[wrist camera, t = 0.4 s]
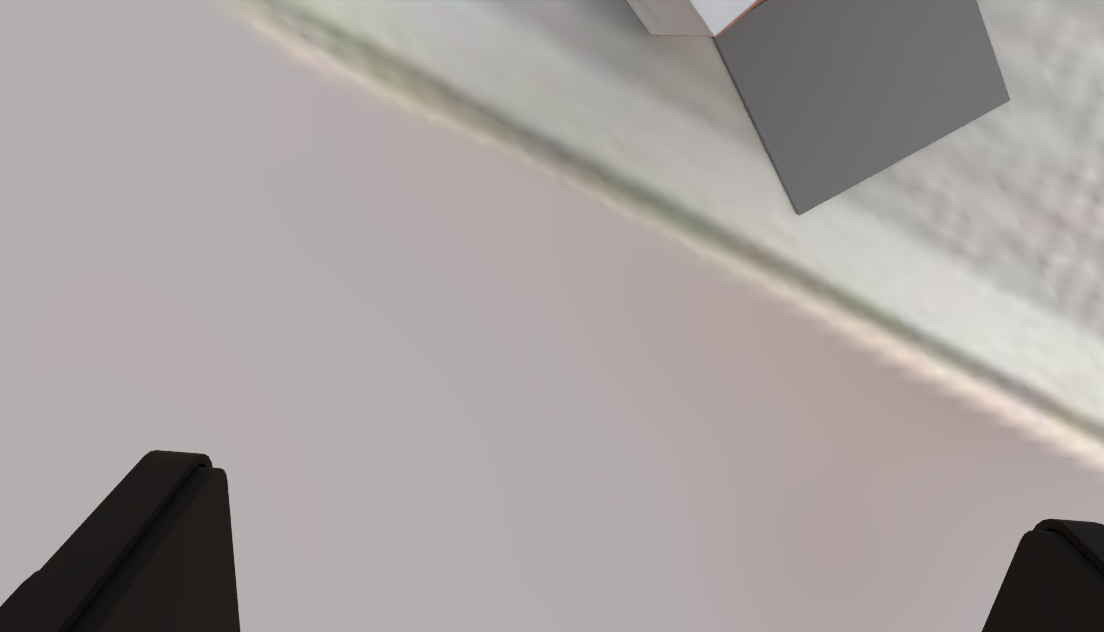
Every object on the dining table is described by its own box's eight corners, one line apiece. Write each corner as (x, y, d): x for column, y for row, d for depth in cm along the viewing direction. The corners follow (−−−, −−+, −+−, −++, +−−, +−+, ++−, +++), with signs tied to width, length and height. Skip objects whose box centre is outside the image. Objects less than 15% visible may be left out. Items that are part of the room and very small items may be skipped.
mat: (935, -104, 32) (940, -105, 32) (1005, 99, 35) (1010, 100, 35) (711, 33, 34) (712, 33, 34) (796, 213, 37) (799, 215, 37)
